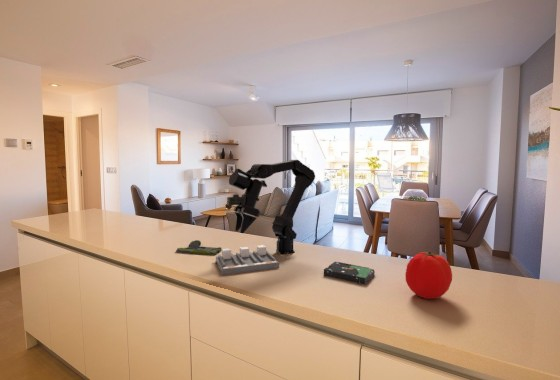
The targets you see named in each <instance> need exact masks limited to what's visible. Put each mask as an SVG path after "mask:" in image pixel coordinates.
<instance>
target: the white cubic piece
mask: <svg viewBox="0 0 560 380" xmlns="http://www.w3.org/2000/svg"><path fill="white" fill-rule="evenodd" d="M266 250H267V246H266V245H264V244H261V245H256V252H257V254H258V255H259V256H260V255H266Z"/></svg>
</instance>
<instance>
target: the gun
mask: <svg viewBox="0 0 560 380" xmlns="http://www.w3.org/2000/svg"><path fill="white" fill-rule="evenodd" d="M201 244H202V241H201V240H197V239H195V240H192V241H190V243H189V244H188V247H177V248H176V250H175V252H176V253H179V254H189V255H203V256H216V255H218V253H220V252H222V247H221V246H220V247H218V246H217V247H214V246H213V247H211V246H201Z"/></svg>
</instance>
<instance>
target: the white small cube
mask: <svg viewBox="0 0 560 380" xmlns="http://www.w3.org/2000/svg"><path fill="white" fill-rule="evenodd" d="M249 252H250V248H249V247H248V246H241V247H239V254H240V256H241V257H249Z"/></svg>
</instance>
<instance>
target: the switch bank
mask: <svg viewBox="0 0 560 380" xmlns="http://www.w3.org/2000/svg"><path fill="white" fill-rule="evenodd" d="M217 255H218V256H215V262H216V265H217V267H218V269H219V272H220V274H221V276H226V275H234V274H241V273H249V272H256V271H264V270H272V269H279V268H280V262H279V261H278V260H277V259H276V258H275V257H274V256H273V255H272V254H271V253H270V252H269V251H268V250H267V249H266V255H260V256H259V255H258V254H257V250H252V252H250V251H249V257H241V256H240V252H236V253H235V254H233V253H232V252H231V259H224V260H223V258H222V254H217Z"/></svg>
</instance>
